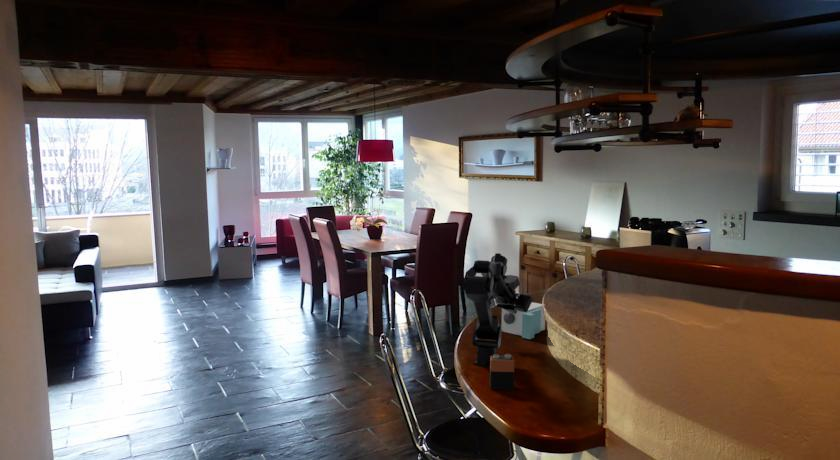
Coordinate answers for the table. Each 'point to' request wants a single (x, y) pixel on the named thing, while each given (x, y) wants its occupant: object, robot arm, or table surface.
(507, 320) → the camera body
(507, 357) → the battery
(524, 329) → the side door
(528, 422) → the table surface
